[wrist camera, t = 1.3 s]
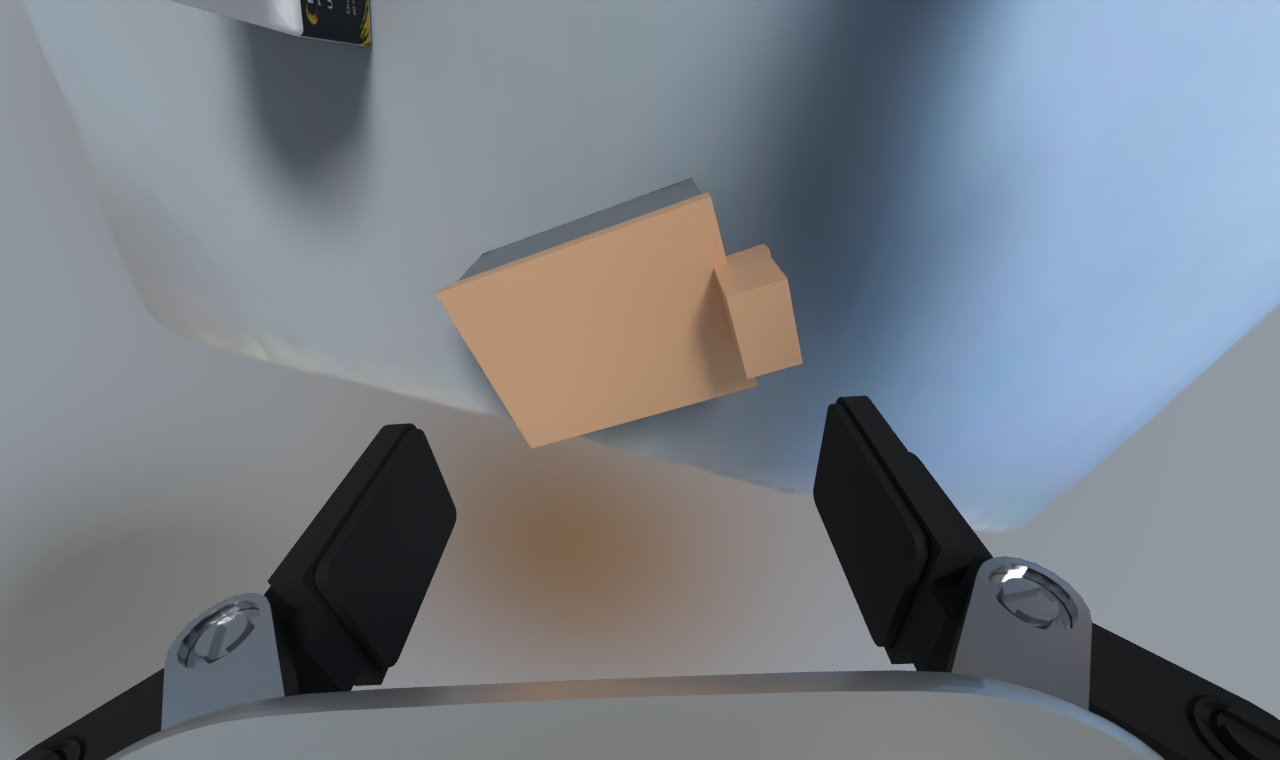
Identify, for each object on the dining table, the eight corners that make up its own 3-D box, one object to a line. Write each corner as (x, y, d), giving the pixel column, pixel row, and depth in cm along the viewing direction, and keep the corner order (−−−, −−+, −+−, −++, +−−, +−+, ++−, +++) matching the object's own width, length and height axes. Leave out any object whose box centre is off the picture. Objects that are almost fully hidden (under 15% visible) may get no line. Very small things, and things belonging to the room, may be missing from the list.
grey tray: (691, 178, 31) (703, 199, 25) (731, 328, 37) (748, 374, 32) (482, 254, 34) (449, 289, 28) (551, 383, 40) (536, 434, 34)
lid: (746, 172, 26) (778, 197, 20) (784, 357, 32) (815, 416, 27) (449, 279, 29) (403, 327, 23) (537, 428, 36) (518, 494, 30)
